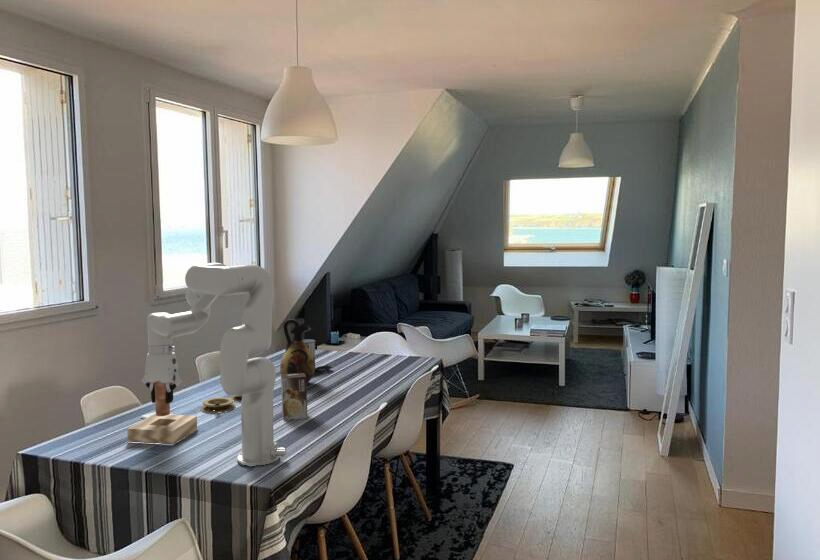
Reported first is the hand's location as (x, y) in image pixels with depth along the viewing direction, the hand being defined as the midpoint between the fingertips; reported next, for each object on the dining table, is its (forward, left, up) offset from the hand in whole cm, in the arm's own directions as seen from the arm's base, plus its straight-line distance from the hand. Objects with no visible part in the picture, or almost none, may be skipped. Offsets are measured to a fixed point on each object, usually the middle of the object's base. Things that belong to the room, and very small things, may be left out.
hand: (162, 401), depth 206 cm
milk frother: (-22, -98, -12) cm, 102 cm away
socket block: (0, 0, -12) cm, 12 cm away
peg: (0, 0, -4) cm, 4 cm away
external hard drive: (+12, -18, -13) cm, 25 cm away
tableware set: (-6, -41, -13) cm, 43 cm away
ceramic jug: (-22, -71, -12) cm, 75 cm away
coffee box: (-37, -27, -12) cm, 47 cm away
